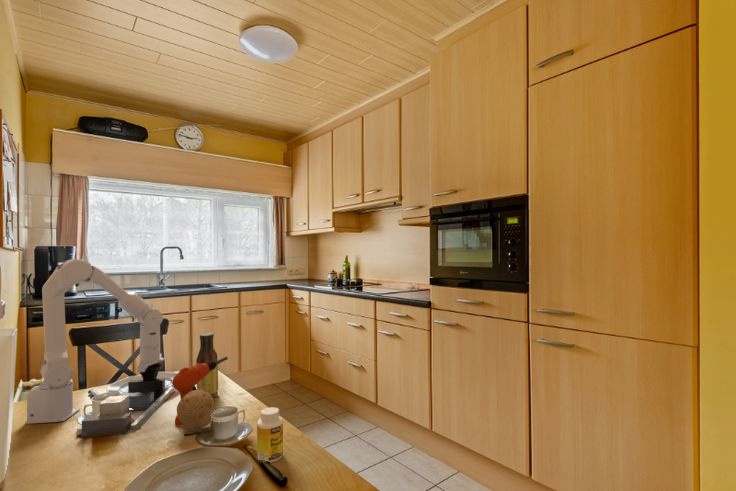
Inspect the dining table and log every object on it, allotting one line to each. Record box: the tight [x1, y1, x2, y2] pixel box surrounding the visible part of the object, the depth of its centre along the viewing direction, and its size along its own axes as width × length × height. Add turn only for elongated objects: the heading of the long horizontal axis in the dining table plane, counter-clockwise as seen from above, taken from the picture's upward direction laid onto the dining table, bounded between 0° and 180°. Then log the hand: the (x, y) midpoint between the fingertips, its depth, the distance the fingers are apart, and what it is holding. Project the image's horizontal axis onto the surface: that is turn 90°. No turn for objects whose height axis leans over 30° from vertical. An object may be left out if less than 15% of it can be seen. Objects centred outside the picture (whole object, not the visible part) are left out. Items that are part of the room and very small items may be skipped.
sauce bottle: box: [195, 332, 219, 399], centre depth 121 cm, size 7×6×20 cm
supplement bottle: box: [256, 407, 284, 464], centre depth 85 cm, size 6×6×10 cm
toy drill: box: [171, 356, 229, 427], centre depth 109 cm, size 5×19×15 cm, turn 154°
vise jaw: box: [119, 378, 166, 411], centre depth 117 cm, size 10×12×5 cm
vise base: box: [76, 386, 175, 438], centre depth 110 cm, size 14×30×4 cm, turn 9°
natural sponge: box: [176, 390, 216, 432], centre depth 99 cm, size 9×9×10 cm
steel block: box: [98, 395, 130, 415], centre depth 101 cm, size 5×5×7 cm
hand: (150, 388), depth 124 cm, fingers closed
